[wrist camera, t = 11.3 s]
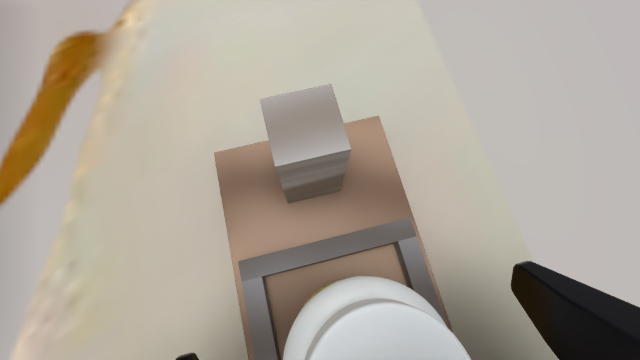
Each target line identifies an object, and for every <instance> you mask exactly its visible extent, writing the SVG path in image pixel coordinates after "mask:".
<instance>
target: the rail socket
mask: <svg viewBox="0 0 640 360" xmlns="http://www.w3.org/2000/svg"><path fill="white" fill-rule="evenodd" d="M260 102H261V107H262V111H263V116H264V120H265V125H266V129H267V134H268V138H269V140H268V141H264V142H260V143H255V144H251V145H246V146H242V147H237V148H233V149H228V150H224V151H219V152H215V153H214V156H215V162H216V168H217V174H218V180H219V186H220V192H221V198H222V204H223V209H224V215H225V221H226V227H227V233H228V239H229V245H230V251H231V257H232V263H233V269H234V275H235V281H236V287H237V293H238V299H239V305H240V311H241V317H242V323H243V329H244V335H245V341H246V347H247V352H248V358H249V360H283V354H284V349H285V345H286V341H287V338H288V335H289V332H290V330H291V327H292V325H293V323H294V321H295V319H296V318H297V316H298V314H299V312H300V310H301V309H302V307H303V306H304V304H305V302H306V301H307V300H308V299H309V298H310V296H311V295H312V294H314V293H315V292H316V291H317V290H318V289H320V288H321V287H323V286H325V285H327V284H329V283H332V282H335V281H339V280H342V279H346V278H349V277H353V276H374V277H381V278H386V279H390V280H393V281H396V282H398V283H401V284H403V285H405V286H407V287H409V288H410V289H412V290H413V291H415V292H416V293H418V294H419V295H420V296H422V297H423V298H424V299H425V300H426V301H427V302H428V303H429V304H430V305H431V306H432V307H433V308H434V309H435V310H436V312H437V313H438V314H439V315H440V317H441V318H442V320H443V321H444V323H445V324H446V326H447V328H448V329H449V330H450V331H451V332H452V333H453V331H452V328H451V325H450V323H449V320H448V317H447V314H446V311H445V308H444V305H443V302H442V299H441V296H440V293H439V290H438V288H437V285H436V282H435V279H434V276H433V273H432V270H431V267H430V264H429V261H428V258H427V255H426V252H425V250H424V247H423V244H422V241H421V238H420V235H419V232H418V229H417V226H416V223H415V220H414V217H413V215H412V212H411V209H410V206H409V203H408V200H407V197H406V194H405V191H404V188H403V185H402V182H401V180H400V177H399V174H398V171H397V168H396V165H395V162H394V159H393V156H392V153H391V150H390V147H389V144H388V142H387V139H386V136H385V133H384V130H383V127H382V124H381V121H380V118H379V116H375V117H371V118H367V119H362V120H358V121H353V122H349V123H344V124H343V120H342V117H341V114H340V111H339V107H338V104H337V101H336V97H335V94H334V91H333V88H332V84H328V85H324V86H319V87H314V88H309V89H305V90H300V91H295V92H291V93H286V94H281V95H277V96H272V97H267V98H262V99H260Z"/></svg>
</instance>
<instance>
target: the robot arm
mask: <svg viewBox="0 0 640 360" xmlns="http://www.w3.org/2000/svg"><path fill="white" fill-rule="evenodd" d="M511 289H512V291H513V293H514V295H515V296H516V298H517V300H518V301H519V303H520V304H521V306H522V307H523V309H524V310H525V312H526V313H527V315H528V316H529V318H530V319H531V321H532V322H533V324H534V325H535V327H536V328H537V330H538V331H539V333H540V334H541V336H542V337H543V339H544V340H545V342H546V343H547V344H548V346H549V347H550V348H551V350H552V351H553V352H554V353H555V355H556V356H557V357H558V358H559V360H640V307H637V306H635V305H632V304H630V303H628V302H625V301H623V300H621V299H618V298H616V297H614V296H611V295H609V294H607V293H604V292H602V291H600V290H597V289H595V288H592V287H590V286H588V285H585V284H583V283H581V282H578V281H576V280H574V279H571V278H569V277H567V276H564V275H562V274H559V273H557V272H555V271H553V270H550V269H548V268H545V267H543V266H541V265H538V264H536V263H534V262H531V261H525V262H522V263H518V264H515V266H514V267H513V273H512V280H511ZM176 360H199V359H198V357H197V355H196V354H195V353H188V354H185V355H181V356H179V357H178V358H177V359H176Z"/></svg>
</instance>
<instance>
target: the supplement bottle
mask: <svg viewBox="0 0 640 360" xmlns="http://www.w3.org/2000/svg"><path fill="white" fill-rule="evenodd" d="M283 360H471V358H470V356H469V355H468V353H467V351H466V350H465V348H464V347H463V345H462V344H461V343H460V341H459V340H458V339H457V337H456V336H455V335H454V334H453V333H452V332H451V331H450V330H449V329H448V328H447V326H446V324H445V323H444V321H443V320H442V318H441V317H440V315H439V314H438V313H437V312H436V310H435V309H434V308H433V307H432V306H431V305H430V304H429V303H428V302H427V301H426V300H425V299H424V298H423V297H422V296H420V295H419V294H418V293H416V292H415V291H413V290H412V289H410V288H409V287H407V286H405V285H403V284H401V283H398V282H396V281H393V280H390V279H386V278H381V277H374V276H353V277H349V278H346V279H342V280H339V281H335V282H332V283H329V284H327V285H325V286H323V287H321V288H320V289H318V290H317V291H316V292H315V293H314V294H312V295H311V296H310V298H309V299H308V300H307V301H306V302H305V304H304V306H303V307H302V309H301V310H300V312H299V314H298V316H297V318H296V319H295V321H294V323H293V325H292V327H291V330H290V332H289V335H288V338H287V341H286V345H285V349H284V354H283Z"/></svg>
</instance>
